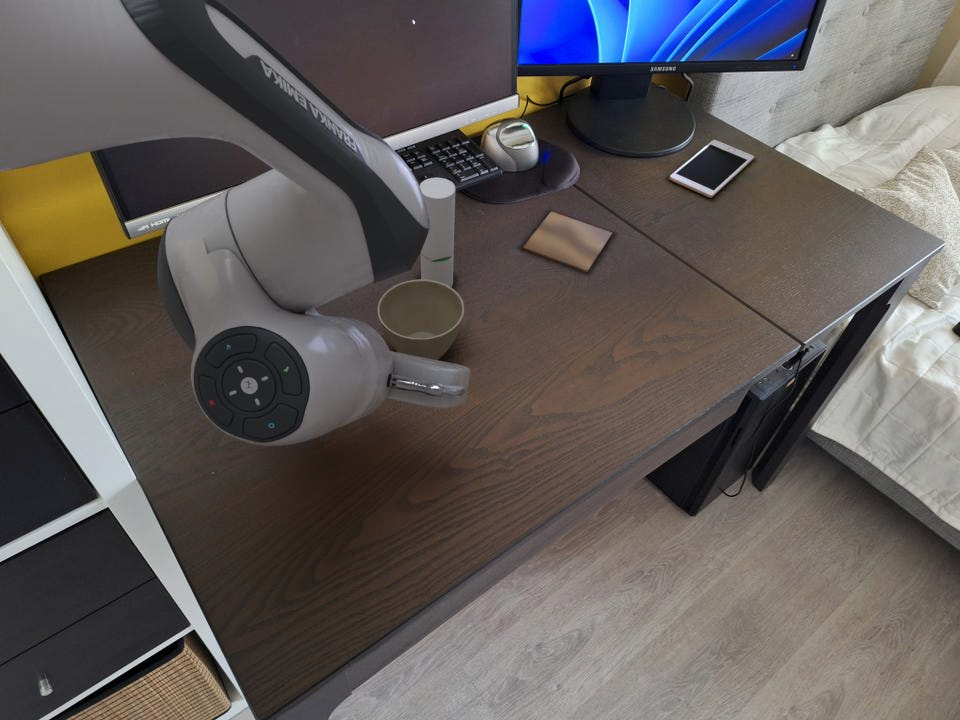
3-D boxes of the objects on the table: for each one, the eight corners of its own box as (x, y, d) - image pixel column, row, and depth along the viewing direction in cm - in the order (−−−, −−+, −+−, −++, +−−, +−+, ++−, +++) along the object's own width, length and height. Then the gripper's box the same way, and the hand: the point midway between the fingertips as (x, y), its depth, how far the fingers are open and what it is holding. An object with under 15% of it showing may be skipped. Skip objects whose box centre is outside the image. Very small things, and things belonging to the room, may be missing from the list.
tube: (415, 287, 90) (412, 192, 78) (429, 268, 92) (428, 174, 81) (444, 296, 89) (446, 202, 77) (457, 277, 91) (461, 183, 80)
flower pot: (456, 317, 86) (457, 275, 81) (468, 376, 80) (470, 334, 74) (378, 324, 85) (374, 281, 79) (384, 384, 78) (380, 342, 73)
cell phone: (754, 159, 115) (755, 156, 115) (711, 198, 107) (712, 195, 106) (713, 142, 118) (714, 139, 118) (668, 179, 110) (669, 176, 109)
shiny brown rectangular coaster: (587, 273, 93) (587, 270, 93) (522, 249, 96) (523, 246, 96) (612, 234, 99) (612, 232, 99) (550, 213, 102) (551, 211, 102)
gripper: (466, 356, 53) (484, 352, 67) (226, 310, 55) (291, 314, 69) (452, 433, 54) (472, 413, 68) (214, 384, 56) (281, 374, 70)
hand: (379, 363), depth 68 cm, fingers closed
